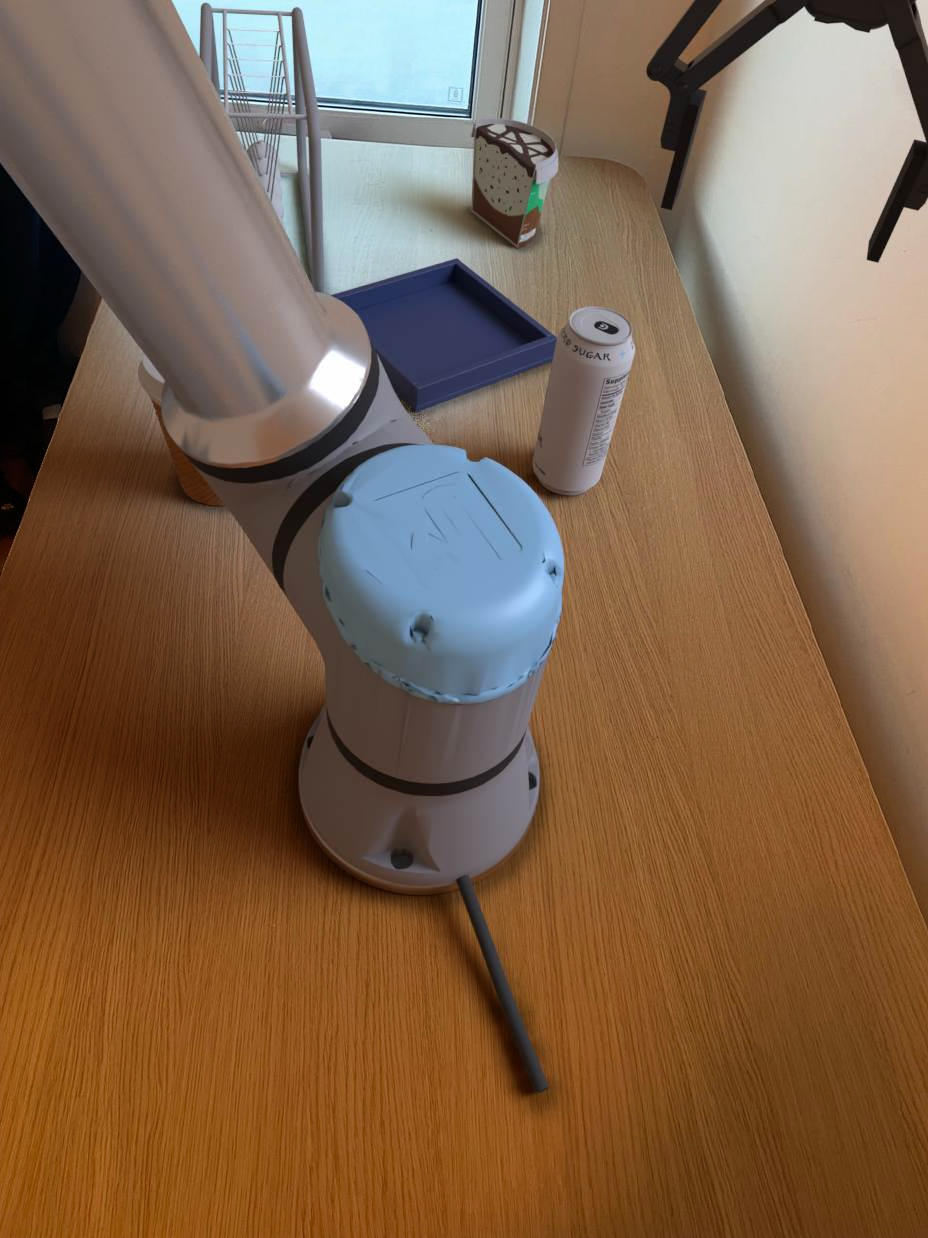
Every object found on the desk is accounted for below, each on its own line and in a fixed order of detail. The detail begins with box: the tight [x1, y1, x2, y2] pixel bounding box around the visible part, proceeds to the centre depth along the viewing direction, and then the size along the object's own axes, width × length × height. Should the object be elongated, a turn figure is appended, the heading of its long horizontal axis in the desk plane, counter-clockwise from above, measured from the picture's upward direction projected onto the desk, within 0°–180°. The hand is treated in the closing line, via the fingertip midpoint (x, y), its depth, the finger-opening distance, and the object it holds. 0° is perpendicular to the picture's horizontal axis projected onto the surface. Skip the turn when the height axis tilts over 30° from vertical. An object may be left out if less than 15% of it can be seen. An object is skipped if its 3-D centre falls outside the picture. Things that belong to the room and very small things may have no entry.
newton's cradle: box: [198, 2, 325, 294], centre depth 97 cm, size 30×10×18 cm, turn 10°
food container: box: [470, 117, 559, 250], centre depth 106 cm, size 12×6×10 cm, turn 34°
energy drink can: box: [532, 306, 636, 496], centre depth 76 cm, size 6×6×15 cm
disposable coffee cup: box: [137, 351, 225, 506], centre depth 72 cm, size 10×10×12 cm
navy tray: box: [329, 257, 557, 413], centre depth 92 cm, size 17×17×3 cm
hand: (769, 226), depth 62 cm, fingers open, 13 cm apart
